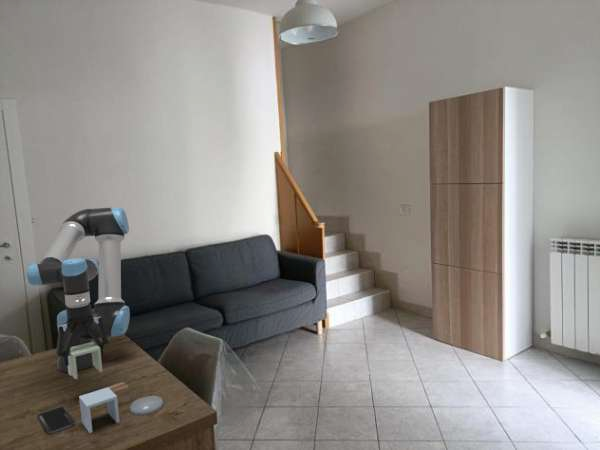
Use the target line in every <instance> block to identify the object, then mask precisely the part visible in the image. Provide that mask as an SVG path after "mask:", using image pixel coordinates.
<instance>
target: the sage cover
mask: <svg viewBox="0 0 600 450" xmlns="http://www.w3.org/2000/svg"><path fill="white" fill-rule="evenodd" d="M91 352H92V362H93V366H92V367H94V368H95V369H96V370H97V371H98V372H99V373H102V372H103V364H102V356H101V352H100V347H99V346H98V345H97V344H96V342H95V341H92V342H90V343H86V344H82V345H78V346H74V347H71V349H70V351H69V355H70V356H71V364H72V373H73V375H71V376H72V378H73V379H75V380H78V378H79V375H78V371H77V367H76V358H75V357H76V356H79V355H83V354H87V353H91Z"/></svg>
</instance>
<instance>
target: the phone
mask: <svg viewBox="0 0 600 450" xmlns="http://www.w3.org/2000/svg"><path fill="white" fill-rule="evenodd" d="M37 419H38V420H39V423H40V424H41V426H42V428H43V430H44V432H45V433H46V435H47V436H50V435H54V434H56V433H59V432H62V431H65V430H68V429H70V428H73V427H74V426H75V425H76V422H75V420H74V418H73V417H72V416H71V414H70V412H69V411H68V410H67V408H66V407H65V406H59V407H55V408H53V409H50V410H47V411H44V412H40V413H39V414H37Z"/></svg>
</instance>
